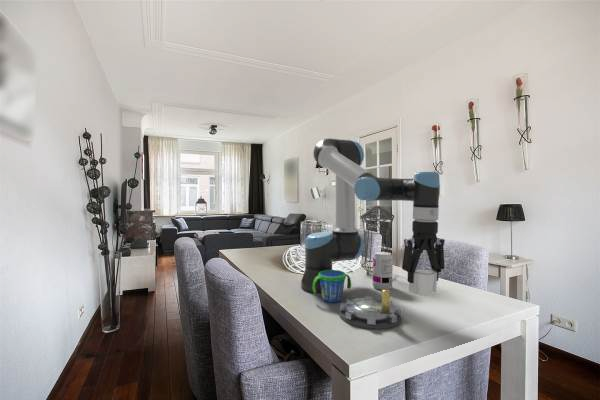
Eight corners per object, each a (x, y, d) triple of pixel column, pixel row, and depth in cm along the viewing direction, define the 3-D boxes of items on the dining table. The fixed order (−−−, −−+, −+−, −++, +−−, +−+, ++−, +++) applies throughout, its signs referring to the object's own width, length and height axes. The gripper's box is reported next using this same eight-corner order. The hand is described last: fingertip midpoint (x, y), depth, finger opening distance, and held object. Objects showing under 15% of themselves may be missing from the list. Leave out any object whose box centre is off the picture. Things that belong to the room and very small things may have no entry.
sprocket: (372, 330, 86) (372, 299, 85) (328, 308, 102) (328, 282, 102) (413, 315, 97) (414, 287, 97) (367, 297, 113) (368, 274, 113)
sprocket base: (329, 320, 95) (329, 317, 95) (351, 301, 113) (351, 298, 113) (394, 335, 86) (394, 332, 86) (406, 311, 103) (406, 308, 103)
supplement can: (371, 289, 128) (371, 254, 127) (374, 283, 135) (374, 250, 135) (391, 291, 125) (391, 255, 124) (392, 286, 132) (393, 252, 132)
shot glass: (436, 297, 92) (437, 275, 92) (412, 295, 93) (413, 273, 93) (431, 290, 99) (432, 269, 99) (409, 288, 100) (410, 267, 100)
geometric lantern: (393, 272, 156) (395, 205, 154) (389, 280, 142) (391, 207, 140) (363, 268, 163) (364, 204, 161) (356, 276, 148) (358, 205, 147)
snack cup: (316, 306, 108) (316, 278, 107) (308, 296, 118) (308, 270, 118) (356, 302, 111) (356, 275, 111) (345, 293, 122) (345, 268, 121)
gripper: (405, 222, 89) (402, 298, 90) (459, 221, 94) (456, 293, 95) (391, 219, 96) (388, 290, 97) (442, 219, 101) (439, 285, 102)
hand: (422, 291), depth 96 cm, fingers closed on shot glass, 7 cm apart
